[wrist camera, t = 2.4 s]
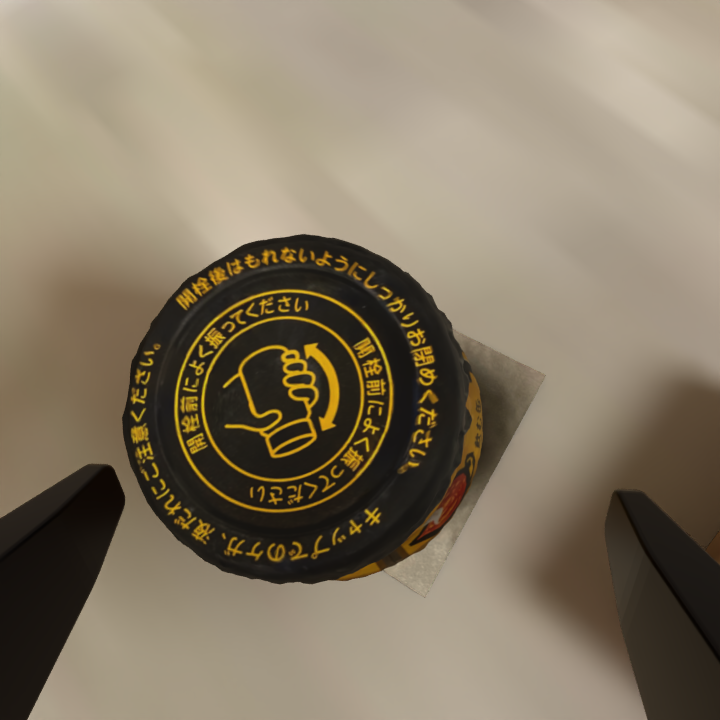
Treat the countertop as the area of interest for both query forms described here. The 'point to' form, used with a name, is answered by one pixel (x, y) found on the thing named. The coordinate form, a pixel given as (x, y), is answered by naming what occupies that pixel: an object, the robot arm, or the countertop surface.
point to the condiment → (316, 416)
